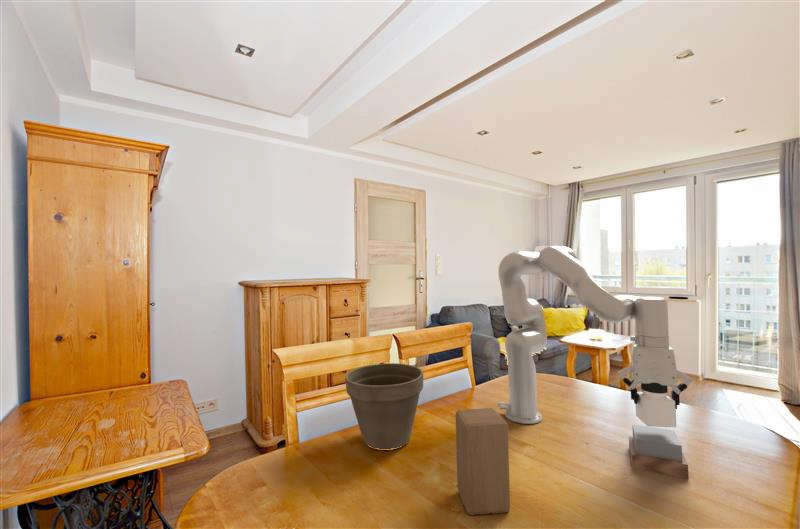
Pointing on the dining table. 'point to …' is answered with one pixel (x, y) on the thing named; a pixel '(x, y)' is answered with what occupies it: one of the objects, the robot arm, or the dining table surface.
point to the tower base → (658, 463)
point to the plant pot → (385, 402)
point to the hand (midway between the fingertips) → (654, 404)
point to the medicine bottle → (655, 406)
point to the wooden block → (482, 461)
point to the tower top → (657, 442)
